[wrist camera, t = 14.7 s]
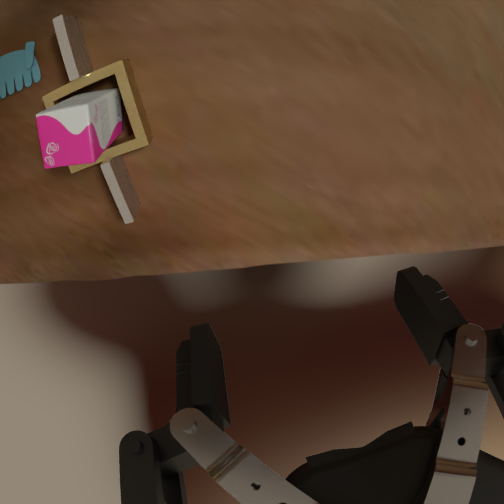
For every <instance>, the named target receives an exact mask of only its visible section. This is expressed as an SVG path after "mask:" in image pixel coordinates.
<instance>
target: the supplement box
mask: <svg viewBox="0 0 504 504" xmlns="http://www.w3.org/2000/svg"><path fill="white" fill-rule="evenodd" d="M36 121H37V127H38V134H39V140H40V146H41V152H42V157H43V162H44V167H45V169H48V168H54V167H61V166H70V165H79V164H89V163H95V161H96V160H97V159H98V158H99V157H100V155H101V154H102V153H103V152H104V151H105V150H106V149H107V148H108V147H109V145H110V144H111V143H112V142H113V141H114V140H115V139H116V138H117V137H118V136H119V135H120V134H121V133H122V132H123V116H122V101H121V92H120V89H119V88H113V89H105V90H98V91H92V92H86V93H80V94H77V95H75V96H73V97H71V98H69V99H66V100H64V101H62V102H60V103H58V104H56V105H54V106H52V107H50V108H48V109H46V110H44V111H42V112H40V113H38V114H36Z"/></svg>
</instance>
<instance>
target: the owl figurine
mask: <svg viewBox="0 0 504 504" xmlns="http://www.w3.org/2000/svg"><path fill="white" fill-rule="evenodd" d="M34 48H35V42H34V41H30V42H27V43H26V45H25V50H18V51H14V52H11V53H8V54H6V55H3V56H1V57H0V97H1V98H2V99H3V98H5V97H6V94H7V92H6V86H7V91H8V94H9V95H12V94H13V93H14V90H15V87H14V81H15V86H16V89H17V91H21V90H22V89H23V79H24V84H25V86H26V87H30V86H31V85H32V76H33V80H34V82H35V83H37V82H39V81H40V79H41V75H40V70H39V66H38V63H37V60H36V58H35V57H34ZM31 72H32V75H31Z"/></svg>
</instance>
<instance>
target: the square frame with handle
mask: <svg viewBox="0 0 504 504" xmlns="http://www.w3.org/2000/svg"><path fill="white" fill-rule="evenodd" d="M52 20H53V24H54V28H55V32H56V35H57V39H58V43H59V47H60V50H61V54H62V57H63V61H64V64H65V67H66V71H67V74H68V77H69V81H72V82H70V83H68V84H66V85H64V86H62V87H60V88H58V89H56V90H54V91H52V92H50V93H48V94H47V95H45V96H43V97H42V98H43V101H44V104H45V107H46V109H48V108H50V107H52V106H54V105H56V104H58V103H60V102H62V101H64V100H65V96H67V95H69V94H71V93H73V92H76V91H78V90H80V89H82V88H84V87H86V86H89V85H91V84H93V83H95V82H98V81H100V80H103V79H105V78H107V77H110V76H112V75H115V76H116V79H117V83H118V86H119V89H120V92H121V95H122V99H123V102H124V105H125V108H126V111H127V114H128V117H129V120H130V123H131V126H132V129H133V132H134V134H132V135H129V136H126V137H123V138H121V139H118V140H115V141H113V142H112V143H111V144H110V145H109V147H108V148H107V149H106V150H105V151H104V152H103V153H102V154H101V155H100V157H99V158H98V159H97V160H96V161H95V163H89V164H79V165H70V166H68V167H69V169H70V172H71V174H72V173H75V172H77V171H80V170H82V169H84V168H87V167H89V166H92V165H94V164H97V163H100V162H102V161H103V162H102V164H101V165H100V167H101V169H102V172H103V174H104V176H105V179H106V181H107V184H108V186H109V188H110V191H111V193H112V195H113V198H114V200H115V202H116V204H117V207H118V209H119V211H120V213H121V216H122V218H123V220H124V222H125V224H128V223H131V222H134V220H135V217H136V214H137V211H138V208H139V205H140V201H139V198H138V196H137V193H136V191H135V188H134V186H133V183H132V181H131V178H130V176H129V173H128V170H127V168H126V165H125V163H124V160H123V157H122V155H121V154H124V153H127V152H129V151H132V150H135V149H138V148H141V147H144V146H147V145H149V144H150V142H151V140H152V138H153V135H152V132H151V129H150V126H149V123H148V119H147V116H146V113H145V110H144V107H143V104H142V100H141V97H140V94H139V91H138V87H137V84H136V81H135V78H134V74H133V71H132V67H131V64H130V60H129V59H125V60H120V61H118V62H115V63H113V64H110V65H108V66H105V67H103V68H101V69H98V70H96V71H94V72H93V69H92V66H91V62H90V59H89V55H88V52H87V49H86V45H85V41H84V38H83V34H82V30H81V26H80V23H79V19H78V17H74V16H69V15H64V14H61V15H60V16H58V17H56V18H54V19H52Z"/></svg>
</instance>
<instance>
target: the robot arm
mask: <svg viewBox="0 0 504 504" xmlns="http://www.w3.org/2000/svg"><path fill="white" fill-rule="evenodd" d="M394 302H395V306H396V308H397V310H398V312H399V314H400V315H401V317H402V318H403V320H404V322H405V323H406V325H407V327H408V328H409V330H410V332H411V333H412V335H413V337H414V339H415V340H416V342H417V344H418V346H419V347H420V349H421V351H422V353H423V354H424V356H425V358H426V360H427V362H428V363H429V365H430V366H433V365H435V364H437V363H439V365H440V366H441V369H440V372H439V377H438V382H437V387H436V392H435V397H434V402H433V406H432V410H431V412H430V414H429V417H428V420H427V422H426V426H415V427H413V424H412V422H409V423H407V424H404V425H402V426H399V427H397V428H394V429H392V430H389V431H387V432H385V433H384V434H383V435H381V436H380V437H378V438H377V439H375V440H374V441H372V442H371V443H369V444H367V445H366V446H364V447H361V448H350V449H337V450H331V451H327V452H324V453H320V454H317V455H313V456H309V457H306V459H307V463H305V464H303V465H301V466H299V467H298V468H296V469H295V470H294V471H293V472H292V473H290V474H289V475H288V477H287V478H286V479H284V478H282V477H281V476H279V475H278V474H277V473H275V472H274V471H273V470H272V469H270V468H269V467H268V466H266V465H265V464H264V463H262V462H261V461H260V460H258V459H257V458H256V457H255V456H254V455H252V454H251V453H250V452H249V451H247V450H246V449H245V448H243V447H242V446H240V445H238V444H237V443H236V442H235V441H234V440H232V439H231V438H230V437H229V436H228V435H227V434H226V433H224V428H225V427H230V426H231V422H230V414H229V406H228V398H227V390H226V382H225V373H224V364H223V356H222V351H221V348H220V345H219V343H218V341H217V338H216V336H215V334H214V332H213V330H212V328H211V326H210V324H209V323H208V322H207V323H203V324H199V325H194V326H191V327H190V340H186V341H182V342H181V343H180V346H179V348H178V350H177V352H176V354H177V355H176V356H177V357H176V364H177V366H176V373H177V375H176V378H177V379H176V385H177V386H176V389H177V390H176V391H177V409H176V413H175V415H174V416H173V418H172V419H171V421H170V422H169V423H168V424H167V425H165V426H163V427H162V428H159V429H157V430H155V431H153V432H151V433H148V434H146V433H145V432H142V431H132V432H129V433H128V434H126V435H125V436H124V437H123V438H122V440H121V442H120V446H119V463H120V488H121V504H187V497H186V490H185V483H184V477H183V471H185V470H187V469H190V468H192V467H194V466H196V465H198V464H200V465H201V466H202V467H203V468H204V469H206V470H207V472H208V473H209V474H210V476H211V477H212V478H214V479H215V481H216V482H217V483H219V484H220V485H221V486H222V487H223V488H224V489H225V490H226V491H227V492H228V493H230V494H231V495H232V496H233V497H234V498H235V499H236V500H238V501H239V502H240V503H241V504H504V461H503V460H501V459H499V458H496V457H494V456H492V455H490V454H488V453H486V452H484V451H482V450H479V449H480V444H481V439H482V433H483V428H484V421H485V415H486V407H487V399H488V389H490V391H491V393H492V395H493V397H494V399H495V401H496V403H497V405H498V407H499V409H500V412H501V414H502V416H503V418H504V323H503V325H502V327H501V328H500V329H492V330H483V329H482V328H480V327H479V326H477V325H475V324H469V323H468V322H467V321H466V319H465V318H464V317H463V316H462V314H461V313H460V311H459V310H458V308H457V307H456V306H455V304H454V303H453V302H452V300H451V299H450V298H449V297H448V295H447V294H446V292H445V291H443V288H442V287H441V286H440V284H439V283H438V282H437V281H436V280H435V279H433V278H431V277H430V276H428V275H424V276H422V274H421V273H420V272H419V271H418V269H417V268H416V267H410V268H407V269H404V270H400V271H398V273H397V277H396V285H395V292H394ZM484 379H485V381H486V382H485V381H484Z"/></svg>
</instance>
